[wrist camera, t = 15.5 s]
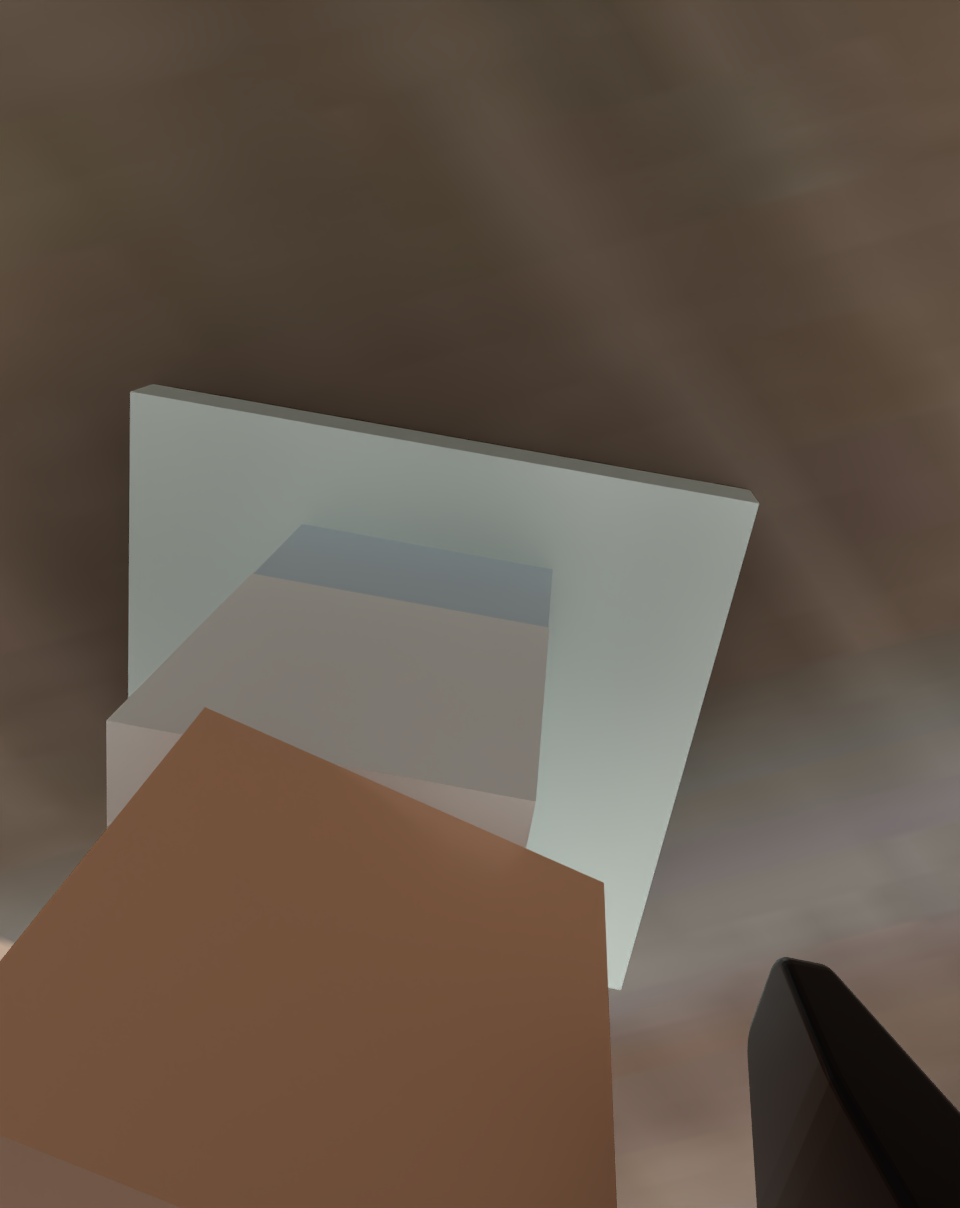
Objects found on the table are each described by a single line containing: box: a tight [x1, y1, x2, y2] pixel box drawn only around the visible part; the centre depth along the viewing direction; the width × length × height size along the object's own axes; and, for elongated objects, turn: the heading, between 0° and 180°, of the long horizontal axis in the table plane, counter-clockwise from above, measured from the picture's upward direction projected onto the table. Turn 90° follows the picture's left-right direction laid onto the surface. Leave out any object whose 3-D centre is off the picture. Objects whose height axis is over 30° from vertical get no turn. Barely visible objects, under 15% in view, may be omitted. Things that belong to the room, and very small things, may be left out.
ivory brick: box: [106, 573, 549, 848], centre depth 14 cm, size 5×8×5 cm, turn 171°
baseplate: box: [128, 384, 759, 990], centre depth 18 cm, size 12×12×4 cm
